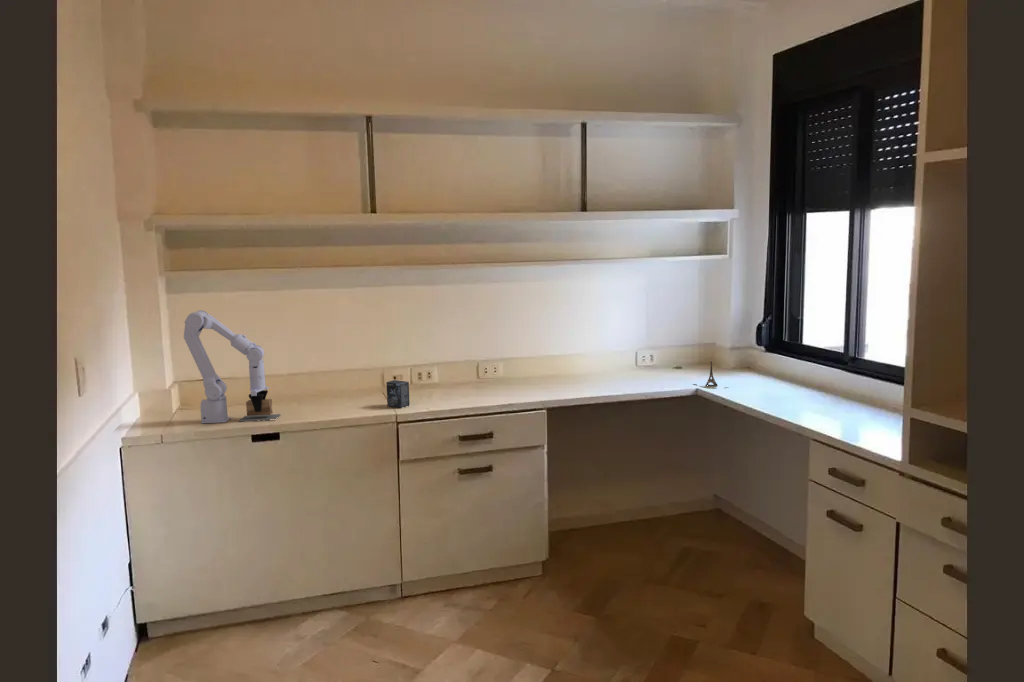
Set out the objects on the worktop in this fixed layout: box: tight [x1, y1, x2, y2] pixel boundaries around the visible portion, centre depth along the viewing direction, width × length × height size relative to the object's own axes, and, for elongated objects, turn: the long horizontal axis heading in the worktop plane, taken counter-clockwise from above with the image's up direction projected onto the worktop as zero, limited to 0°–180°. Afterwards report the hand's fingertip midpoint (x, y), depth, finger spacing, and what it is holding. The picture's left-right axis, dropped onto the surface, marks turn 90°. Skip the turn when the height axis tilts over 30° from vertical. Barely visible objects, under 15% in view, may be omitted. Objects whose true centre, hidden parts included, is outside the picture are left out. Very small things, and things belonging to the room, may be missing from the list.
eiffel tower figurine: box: [692, 357, 730, 390], centre depth 348 cm, size 15×10×13 cm
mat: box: [238, 413, 281, 423], centre depth 304 cm, size 14×9×1 cm, turn 94°
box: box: [386, 379, 411, 409], centre depth 320 cm, size 8×6×11 cm
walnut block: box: [245, 398, 273, 416], centre depth 303 cm, size 4×9×6 cm, turn 94°
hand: (259, 410), depth 304 cm, fingers closed on walnut block, 4 cm apart
